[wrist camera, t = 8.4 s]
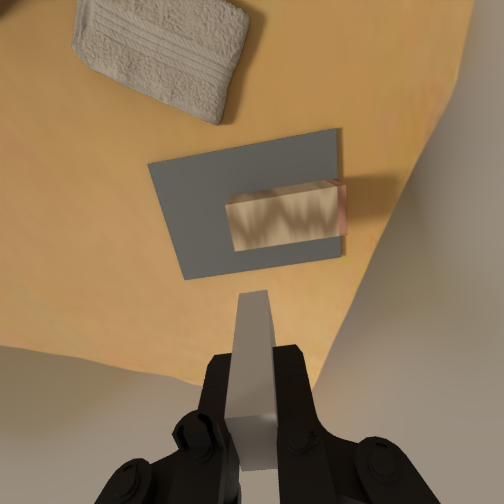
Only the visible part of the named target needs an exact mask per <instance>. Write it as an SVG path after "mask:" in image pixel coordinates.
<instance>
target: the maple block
mask: <svg viewBox="0 0 504 504" xmlns="http://www.w3.org/2000/svg"><path fill="white" fill-rule="evenodd" d="M225 208H226V212H227V217H228V222H229V226H230V231H231V236H232V240H233V245H234V250H235V252H236V251H242V250H249V249H256V248H262V247H269V246H275V245H282V244H289V243H295V242H302V241H309V240H315V239H322V238H329V237H335V236H342V235H347V203H346V185H345V184H343V183H340V182H338V181H336V180H333V179H327V180H321V181H315V182H309V183H303V184H297V185H291V186H285V187H280V188H274V189H268V190H262V191H256V192H250V193H244V194H238V195H233V196H230V197H229V199H228V201H227V202H226V204H225Z"/></svg>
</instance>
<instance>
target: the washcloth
mask: <svg viewBox="0 0 504 504" xmlns="http://www.w3.org/2000/svg"><path fill="white" fill-rule="evenodd" d="M249 24H250V17H249V16H248V14H247V13H244V12H243V9H241V8H239V9H238V8H237V7H236V6H234V5H233V4H231V3H230V2H227V1H224V0H78V2H77V10H76V15H75V24H74V34H73V42H72V49H74V50H75V51H76V52H77V55H78V57H79V58H80V59H81V60H82V61H83V62H84V63H85V64H86V65H88V66H89V67H90V68H92V69H93V70H95V71H97V72H99V73H101V74H104V75H106V76H108V77H109V78H112V79H114V80H116V81H117V82H119V83H120V84H123V85H125V86H127V87H129V88H131V89H133V90H136V91H138V92H141V93H143V94H145V95H147V96H150V97H152V98H154V99H156V100H159V101H160V102H162V103H166V104H168V105H171V106H173V107H175V108H178V109H180V110H183V111H184V112H186V113H188V114H191V115H193V116H195V117H198V118H200V119H202V120H204V121H206V122H209V123H211V124H214V125H217V126H218V125H219V123H220V121H221V119H222V114H223V110H224V106H225V101H226V96H227V89H228V85H229V83H230V79H231V78H232V73H233V71H234V69H235V68H236V67H237V64H238V61H239V59H240V55H241V52H242V49H243V45H244V43H245V38H246V36H247V32H248V28H249Z"/></svg>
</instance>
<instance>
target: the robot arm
mask: <svg viewBox="0 0 504 504" xmlns="http://www.w3.org/2000/svg"><path fill="white" fill-rule="evenodd" d="M172 436H173V438H174V440H175V442H176V444H177V446H178V448H179V449H178V450H177V451H176V452H174V453H173V454H171V455H169V456H167V457H165V458H163V459H160V460H158V461H156V462H154V463H152V464H149V462H148V461H146V460H144V459H143V458H137V459H132V460H130V461H128V462H126V463H124V464H123V465H122V466H121V467H120V468H118V469H117V470H116V471H115V473H114V474H113V475H112V477H111V478H110V479H109V481H108V482H107V484H106V485H105V487H104V489H103V490H102V492H101V494H100V495H99V497H98V498H97V500H96V502H95V503H94V504H241V488H240V487H241V486H240V484H239V465H240V466H241V469H242V471H254V470H266V469H278V478H279V493H280V504H441V503H440V502H439V501H438V499H437V498H436V497H435V495H434V494H433V492H432V491H431V489H430V488H429V487H428V485H427V484H426V482H425V481H424V480H423V478H422V477H421V475H420V474H419V473H418V471H417V470H416V468H415V467H414V466H413V464H412V463H411V461H410V460H409V459H408V457H407V456H406V455H405V454H404V453H403V451H402V450H401V449H400V448H399V447H398V446H397V445H395V444H394V443H392V442H390V441H389V440H387V439H384V438H380V437H376V436H374V437H367V438H365V439H364V440H362V441H361V442H359V443H355V442H352V441H348V440H344V439H341V438H338V437H336V436H334V435H332V434H331V433H329V432H328V431H327V430H326V429H325V428H324V427H323V426H322V425H321V423H320V421H319V420H318V417H317V414H316V410H315V406H314V402H313V397H312V392H311V388H310V383H309V379H308V374H307V370H306V365H305V360H304V356H303V353H302V351H301V350H300V349H299V348H298V346H297V345H296V344H294V345H286V346H278V347H276V343H275V332H274V326H273V320H272V315H271V309H270V304H269V298H268V293H267V290H262V291H255V292H248V293H241V294H239V299H238V307H237V316H236V324H235V332H234V341H233V349H232V353H227V354H219V355H214V356H213V358H212V359H211V361H210V363H209V364H208V366H207V370H206V375H205V379H204V384H203V389H202V393H201V397H200V401H199V406H198V410H195V411H192V412H190V413H188V414H187V415H185V416H184V417H183V418H182V419H181V420H180V421H179V422H178V424H177V425H176V426H175V429H174V431H173V433H172Z"/></svg>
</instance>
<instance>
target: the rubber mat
mask: <svg viewBox="0 0 504 504" xmlns="http://www.w3.org/2000/svg"><path fill="white" fill-rule="evenodd" d="M147 165H148V168H149V171H150V174H151V177H152V180H153V184H154V187H155V190H156V193H157V196H158V199H159V202H160V205H161V208H162V212H163V215H164V218H165V221H166V224H167V227H168V230H169V233H170V237H171V240H172V243H173V246H174V249H175V252H176V255H177V258H178V261H179V265H180V268H181V271H182V274H183V277H184V280H189V279H196V278H203V277H210V276H217V275H223V274H230V273H237V272H244V271H251V270H257V269H264V268H271V267H278V266H285V265H291V264H298V263H305V262H312V261H319V260H325V259H332V258H339V257H341V236H335V237H329V238H322V239H315V240H309V241H302V242H295V243H289V244H282V245H275V246H269V247H262V248H256V249H249V250H242V251H236V252H235V250H234V245H233V240H232V236H231V231H230V226H229V222H228V217H227V212H226V208H225V204H226V202H227V201H228V199H229V197H230V196H233V195H238V194H244V193H250V192H256V191H262V190H268V189H274V188H280V187H285V186H291V185H297V184H303V183H309V182H315V181H321V180H327V179H333V180H336V181H338V161H337V135H336V128H334V129H329V130H323V131H318V132H313V133H308V134H303V135H297V136H292V137H287V138H282V139H277V140H271V141H266V142H261V143H256V144H251V145H245V146H240V147H235V148H230V149H225V150H219V151H214V152H209V153H204V154H199V155H193V156H188V157H183V158H178V159H173V160H167V161H162V162H157V163H152V164H147Z"/></svg>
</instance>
